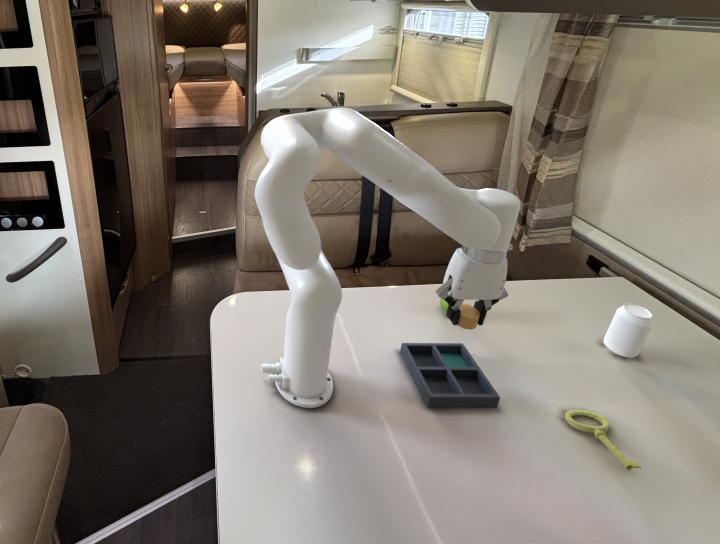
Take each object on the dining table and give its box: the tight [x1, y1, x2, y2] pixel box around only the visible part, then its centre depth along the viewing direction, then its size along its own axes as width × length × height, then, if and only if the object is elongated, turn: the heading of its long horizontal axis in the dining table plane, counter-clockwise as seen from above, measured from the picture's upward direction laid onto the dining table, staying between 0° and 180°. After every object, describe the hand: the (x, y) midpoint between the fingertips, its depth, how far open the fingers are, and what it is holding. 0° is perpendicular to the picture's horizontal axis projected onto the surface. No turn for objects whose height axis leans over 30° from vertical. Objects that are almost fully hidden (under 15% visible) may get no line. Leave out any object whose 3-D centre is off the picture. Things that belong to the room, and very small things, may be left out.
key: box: [564, 408, 642, 471], centre depth 82 cm, size 7×12×2 cm, turn 16°
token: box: [456, 302, 480, 331], centre depth 91 cm, size 5×5×3 cm
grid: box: [399, 342, 501, 409], centre depth 95 cm, size 14×14×3 cm
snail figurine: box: [439, 293, 464, 313], centre depth 113 cm, size 5×6×12 cm
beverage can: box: [603, 302, 654, 359], centre depth 100 cm, size 6×6×12 cm
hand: (464, 319), depth 91 cm, fingers closed on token, 4 cm apart
